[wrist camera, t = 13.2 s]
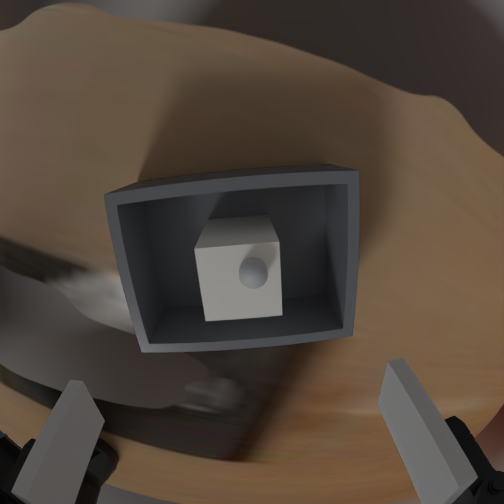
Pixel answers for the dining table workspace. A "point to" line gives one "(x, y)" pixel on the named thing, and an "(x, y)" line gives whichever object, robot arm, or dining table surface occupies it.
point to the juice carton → (239, 268)
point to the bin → (226, 206)
